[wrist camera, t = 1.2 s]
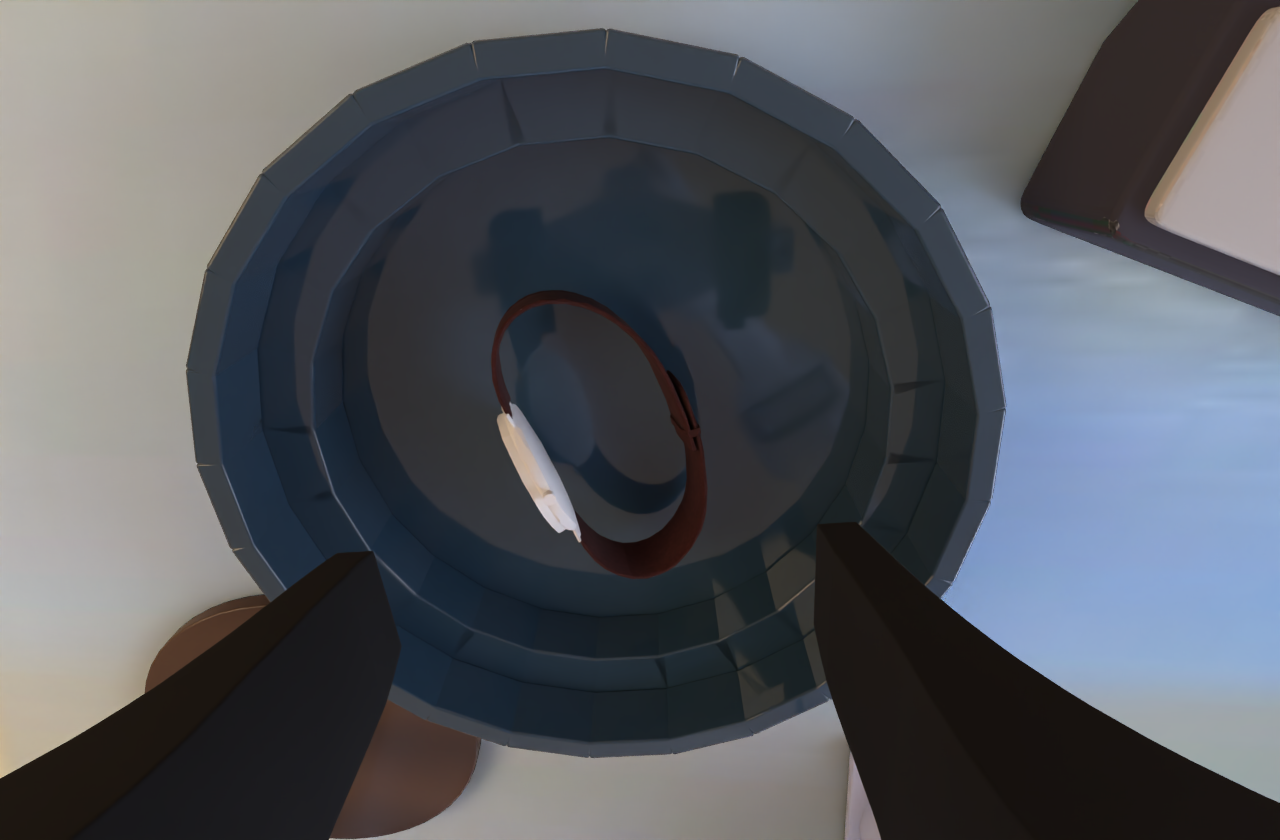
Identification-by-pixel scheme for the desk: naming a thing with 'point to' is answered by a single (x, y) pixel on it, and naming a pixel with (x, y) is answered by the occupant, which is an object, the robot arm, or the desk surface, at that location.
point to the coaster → (396, 757)
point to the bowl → (593, 379)
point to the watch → (548, 487)
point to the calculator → (1177, 147)
